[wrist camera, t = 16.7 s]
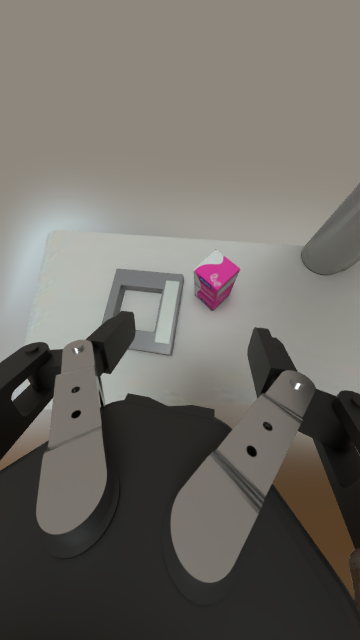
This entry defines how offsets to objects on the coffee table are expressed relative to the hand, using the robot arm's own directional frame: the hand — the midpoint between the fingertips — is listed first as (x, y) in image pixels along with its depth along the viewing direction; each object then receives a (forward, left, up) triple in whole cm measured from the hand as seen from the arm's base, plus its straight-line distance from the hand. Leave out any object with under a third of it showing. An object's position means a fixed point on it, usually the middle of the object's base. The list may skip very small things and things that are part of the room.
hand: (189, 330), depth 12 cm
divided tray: (+14, -9, -27) cm, 31 cm away
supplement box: (-2, -14, -27) cm, 31 cm away
